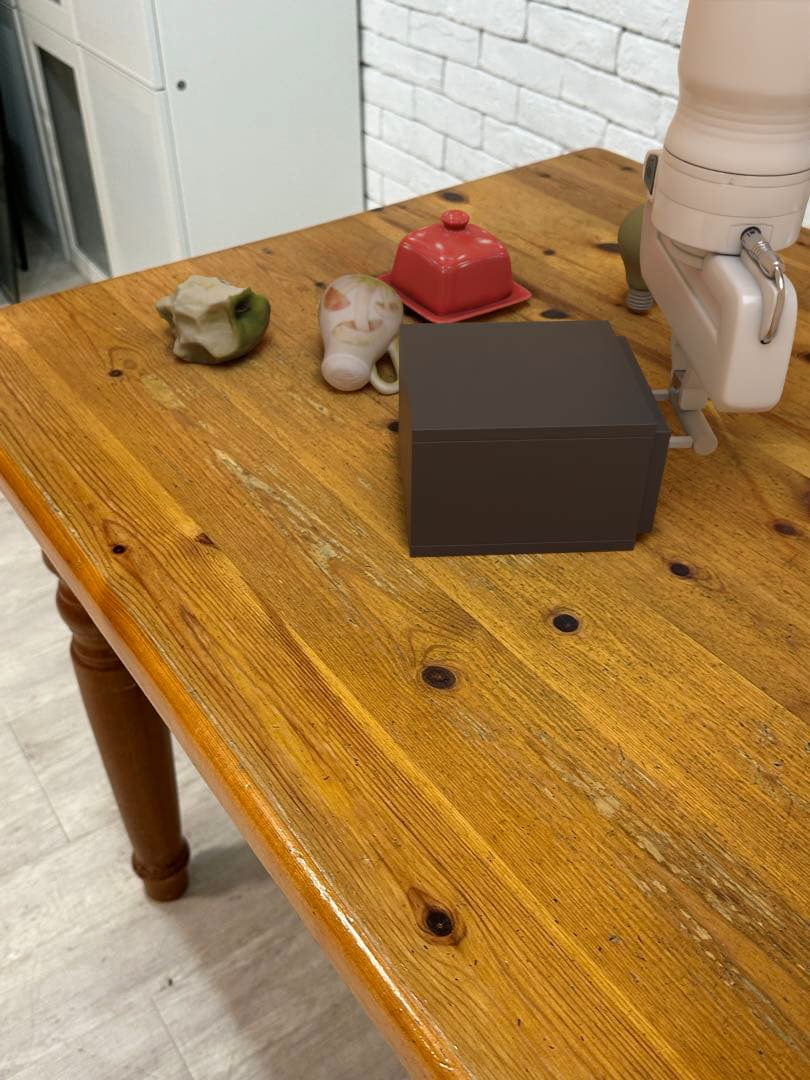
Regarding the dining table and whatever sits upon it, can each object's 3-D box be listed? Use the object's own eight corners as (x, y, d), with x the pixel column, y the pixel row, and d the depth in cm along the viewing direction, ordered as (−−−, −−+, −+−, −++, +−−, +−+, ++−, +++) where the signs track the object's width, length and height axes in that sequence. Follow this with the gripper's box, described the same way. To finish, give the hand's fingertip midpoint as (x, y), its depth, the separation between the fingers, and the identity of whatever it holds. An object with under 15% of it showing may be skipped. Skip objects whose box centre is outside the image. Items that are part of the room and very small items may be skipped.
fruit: (286, 375, 89) (275, 298, 83) (178, 398, 88) (159, 322, 81) (263, 310, 95) (252, 234, 89) (161, 331, 93) (142, 255, 87)
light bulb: (607, 295, 99) (621, 191, 93) (666, 300, 99) (685, 195, 92) (607, 322, 95) (623, 214, 89) (670, 326, 94) (690, 218, 88)
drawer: (666, 429, 79) (685, 334, 74) (715, 531, 69) (740, 429, 64) (430, 434, 78) (433, 339, 73) (446, 539, 68) (450, 436, 63)
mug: (300, 403, 84) (285, 276, 82) (344, 398, 93) (331, 283, 91) (389, 394, 81) (374, 263, 80) (424, 389, 90) (412, 271, 89)
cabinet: (591, 437, 80) (608, 319, 74) (633, 550, 69) (657, 423, 63) (398, 441, 79) (399, 323, 73) (410, 557, 68) (412, 429, 62)
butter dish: (538, 308, 97) (547, 218, 92) (437, 340, 92) (440, 247, 87) (464, 265, 104) (468, 180, 99) (367, 292, 99) (365, 204, 94)
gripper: (848, 272, 55) (783, 487, 63) (730, 145, 71) (691, 330, 79) (730, 272, 54) (680, 489, 63) (638, 144, 70) (609, 331, 79)
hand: (685, 399), depth 71 cm, fingers closed, pressing on drawer
